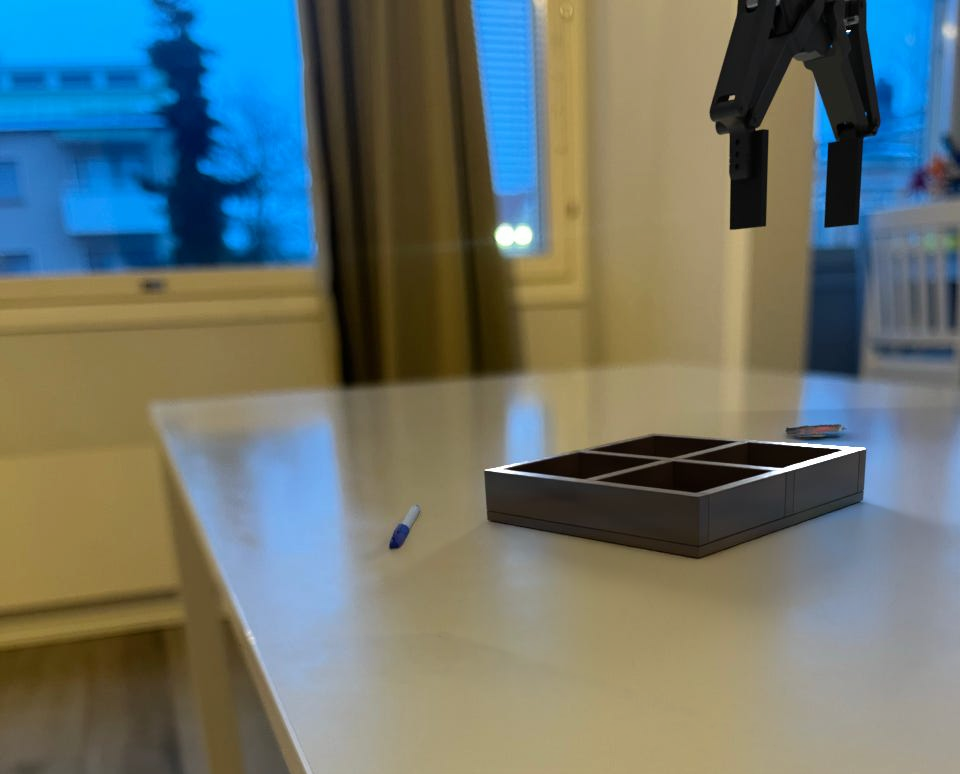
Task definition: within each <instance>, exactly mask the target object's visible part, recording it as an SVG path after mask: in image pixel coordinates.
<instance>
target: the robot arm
mask: <svg viewBox="0 0 960 774" xmlns="http://www.w3.org/2000/svg"><path fill="white" fill-rule="evenodd" d="M867 3H868V2H867V0H737V4H736V5H737V6H736V15H735V20H734V23H733V27H732V30H731V32H730V33H731V34H730V37H729V40H728V43H727V48H726V51H725V54H724V58H723V61H722V65H721V69H720V71H719V75H718V78H717V82H716V86H715V90H714V93H713V95H712V100H711V103H710V106H709V112H708V113H709V119H710V120H711V122H713V123H715V125H714V127H715V131H716V134H717V135H719V136H722V135H728V136H729V144H728V145H729V150H728V152H729V154H728V158H729V159H728V160H729V161H728V163H729V164H728V175H729V180H730V181H729V183H730V185H729V188H730V189H729V231H736V230H746V229H754V228H755V229H756V228H764V227H767V206H768V175H769V172H768V170H769V139H770V138H769V137H770V135H769V133H770V130H769V129H766V128H762V129H759V128H760V127H761V125H762V123H763V121H764V119H765V117H766V115H767V113H768V111H769V108H770V106H771V104H772V102H773V100H774V98H775V96H776V93H777V91H778V89H779V87H780V85H781V83H782V82H783V79H784V77H785V74H786V73H787V71H788V68H789V67H790V64H791V62H792V60H793V59H794V60H796V61H797V62H802V64H803V66H804V68H805V69H806V70H808V71H810V72H812V75H813V78H814V81H815V84H816V87H817V89H818V92H819V95H820V98H821V101H822V104H823V107H824V110H825V114H826V116H827V119H828V122H829V126H830V129H831V131H832V133H833V136H834V139H835V141H831V142H827V157H826V177H825V178H826V179H825V180H826V181H825V199H824V200H825V201H824V221H823V222H824V223H823V228H824V229H830V228H839V227H840V228H841V227H849V226H859V224H860V206H861V189H862V188H861V187H862V175H863V174H862V172H863V153H864V139H865V138H871V137H875V136H877V134H878V131H879V129H880V127H881V123H882V119H881V112H880V107H879V100H878V93H877V88H876V80H875V74H874V67H873V63H872V62H873V61H872V56H871V49H870V42H869V36H868V30H867V26H868V25H867V24H868V23H867V20H868V19H867V17H868V15H867V13H868V10H867V9H868V4H867ZM732 96H734V98H733V99H730V97H732Z"/></svg>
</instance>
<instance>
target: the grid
mask: <svg viewBox="0 0 960 774" xmlns="http://www.w3.org/2000/svg"><path fill="white" fill-rule="evenodd" d="M866 463H867V448H866V447H853V446H852V447H851V446H839V445H823V444H810V443H809V444H808V443H797V442H796V443H794V442H782V441H769V440H768V441H767V440H754V439H753V440H752V439H739V438H738V439H737V438H726V437H723V438H722V437H711V436H697V435H682V434H671V433H670V434H669V433H657V432H656V433H648V434H645V435H640V436H635V437H631V438H625V439H622V440H621V439H620V440H617V441H612V442H608V443H603V444H599V445H593V446H589V447H584V448H580V449H575V450H571V451H566V452H562V453H557V454H553V455H547V456H544V457H538V458H535V459H534V458H533V459H530V460H526V461H521V462H515V463H511V464H507V465H502V466H499V467H494V468H488V469H484V471H483V474H484V475H483V476H484V489H485V490H484V491H485V505H486V519H487V521H492V522H497V523H502V524H507V525H514V526H519V527H525V528H530V529H535V530H542V531H547V532H552V533H558V534H563V535H569V536H574V537H579V538H586V539H591V540H596V541H603V542H608V543H613V544H618V545H625V546H630V547H636V548H641V549H647V550H653V551H658V552H664V553H670V554H673V555H674V554H675V555H680V556H686V557H691V558H697V559H699V558H703V557H705V556H708V555H710V554H711V555H712V554H714V553H716V552H720V551H723V550H726V549H728V548H731V547H733V546H736V545H739V544H742V543H745V542H748V541H751V540H753V539H756V538H760V537H762V536H765V535H767V534H770V533H774V532H776V531H780V530H783V529H785V528H788V527H791V526H793V525H796V524H800V523H803V522H805V521H807V520H811V519H814V518H816V517H819V516H822V515H825V514H828V513H830V512H834V511H837V510H838V509H842V508H844V507H848V506H851V505H853V504H857V503H859V502H862V501H864V495H865V483H866V482H865V481H866V480H865V479H866V465H867V464H866Z"/></svg>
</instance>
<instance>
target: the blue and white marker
mask: <svg viewBox="0 0 960 774" xmlns="http://www.w3.org/2000/svg"><path fill="white" fill-rule="evenodd" d="M420 512H421V507H420V505H419V504H415V505H412V506H411V507H410V508H409V510H408V512H407V514H406V515H405V517H404V519H403V520H402V522H401V523H398V524H397V526H396V527H395V529H394V530H393V533H392V536H391V539H390V540H389V545H388V546H389V549H391V550H397V549H400V548H401V547H402V546H403V544H404V542H405V540H406V539H407V537H408V535H409V533H410V530H411V528H412V526H413V524H414V523H415V521H416V520H417V518H418V515H419V514H420Z"/></svg>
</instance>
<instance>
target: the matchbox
mask: <svg viewBox="0 0 960 774" xmlns="http://www.w3.org/2000/svg"><path fill="white" fill-rule="evenodd" d="M846 430H847V428H846V427H845V426H843V425H842V424H839V423H835V424H831V423H830V424H817V425H802V426H795V427H785V430H784V432H785V434H787V435H794V436H795V435H796V437H797V438H823V437H826V435H827V433H839V432H841V431H846ZM824 433H825V434H824Z"/></svg>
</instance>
